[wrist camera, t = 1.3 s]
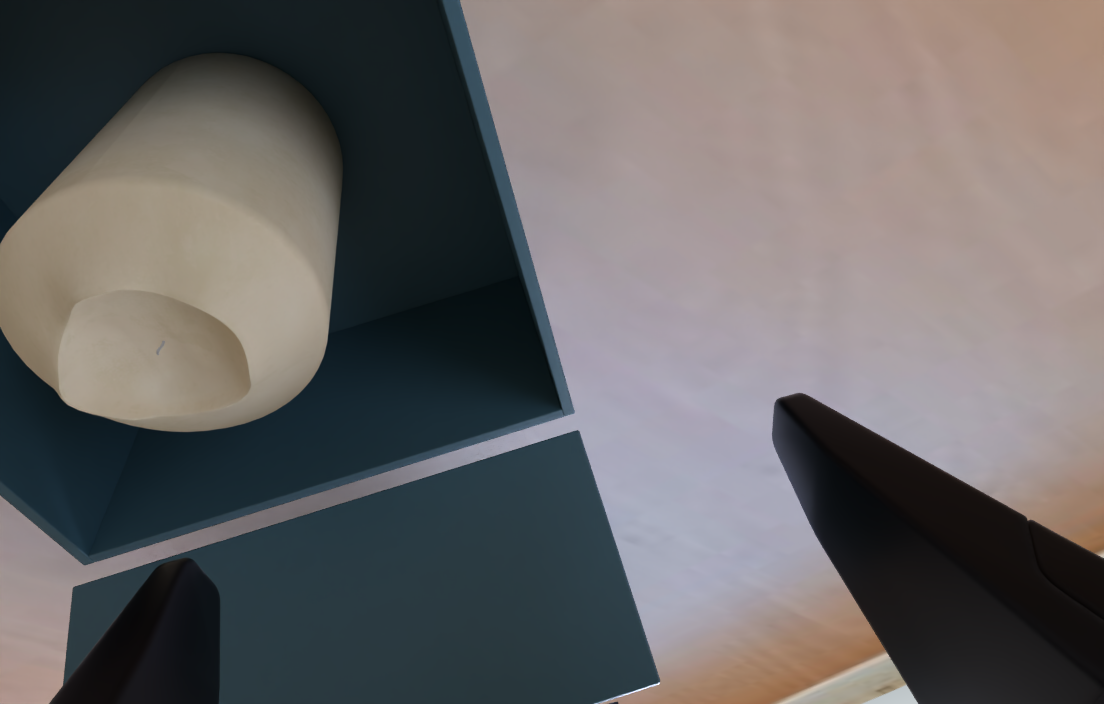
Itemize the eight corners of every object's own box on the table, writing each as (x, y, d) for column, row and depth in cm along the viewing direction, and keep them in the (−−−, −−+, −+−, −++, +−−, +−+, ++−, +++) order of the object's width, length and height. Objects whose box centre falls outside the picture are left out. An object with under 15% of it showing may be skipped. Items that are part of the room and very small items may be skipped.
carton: (527, 275, 24) (575, 413, 18) (154, 389, 23) (84, 566, 18) (400, -163, 16) (415, -160, 10) (-167, 1, 16) (-477, 97, 10)
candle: (199, 261, 21) (93, 517, 13) (84, 82, 17) (-154, 285, 9) (372, 211, 21) (370, 435, 13) (293, 24, 17) (227, 176, 10)
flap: (578, 429, 17) (579, 435, 18) (72, 586, 17) (83, 589, 17) (661, 682, 14) (660, 683, 15) (42, 881, 14) (56, 878, 14)
